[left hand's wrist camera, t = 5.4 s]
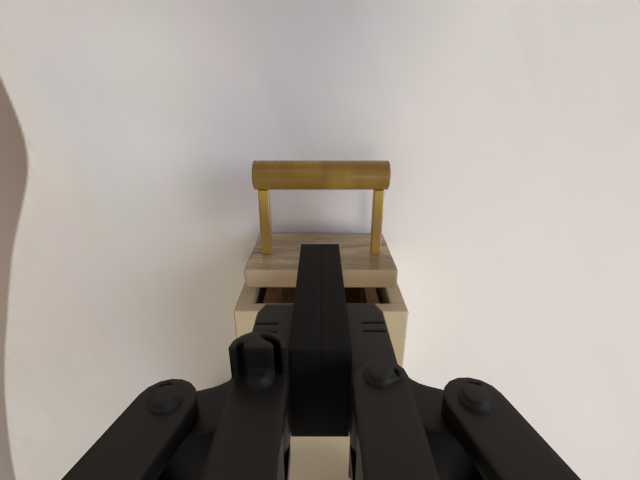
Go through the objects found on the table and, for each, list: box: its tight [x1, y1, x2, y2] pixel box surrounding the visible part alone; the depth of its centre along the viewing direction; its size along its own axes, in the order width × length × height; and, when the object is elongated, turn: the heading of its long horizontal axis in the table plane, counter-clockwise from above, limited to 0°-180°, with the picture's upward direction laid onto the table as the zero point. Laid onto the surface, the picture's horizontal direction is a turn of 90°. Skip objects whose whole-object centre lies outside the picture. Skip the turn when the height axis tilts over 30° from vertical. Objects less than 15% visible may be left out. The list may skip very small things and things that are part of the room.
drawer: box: [244, 161, 398, 304], centre depth 26 cm, size 23×9×6 cm, turn 0°
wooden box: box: [234, 282, 408, 480], centre depth 29 cm, size 18×10×8 cm, turn 0°
